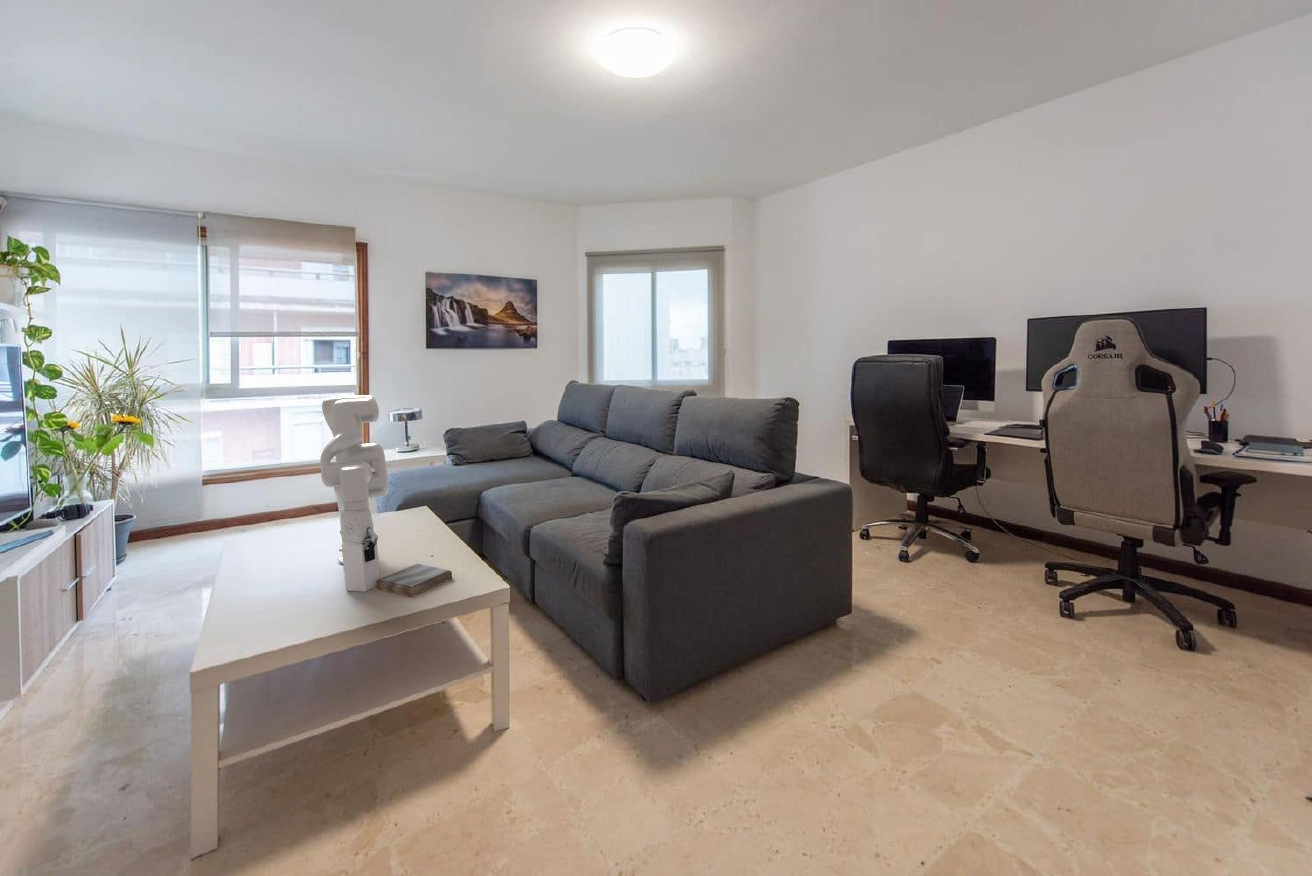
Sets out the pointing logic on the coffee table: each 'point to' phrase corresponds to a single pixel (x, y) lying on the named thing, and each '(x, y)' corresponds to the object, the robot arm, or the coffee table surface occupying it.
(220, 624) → the coffee table surface
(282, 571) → the coffee table surface
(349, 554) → the milk carton
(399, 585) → the framed mirror
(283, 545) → the coffee table surface
